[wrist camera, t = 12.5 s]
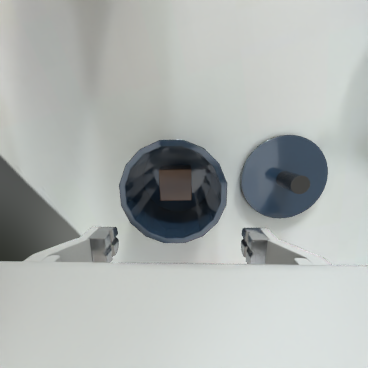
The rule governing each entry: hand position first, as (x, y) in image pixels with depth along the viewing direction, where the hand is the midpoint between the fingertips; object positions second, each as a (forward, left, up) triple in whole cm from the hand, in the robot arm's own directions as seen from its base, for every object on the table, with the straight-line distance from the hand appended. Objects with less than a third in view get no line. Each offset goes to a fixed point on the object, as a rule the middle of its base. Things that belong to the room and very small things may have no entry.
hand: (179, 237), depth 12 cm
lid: (0, +16, -18) cm, 24 cm away
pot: (0, -1, -19) cm, 19 cm away
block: (0, -1, -18) cm, 18 cm away
